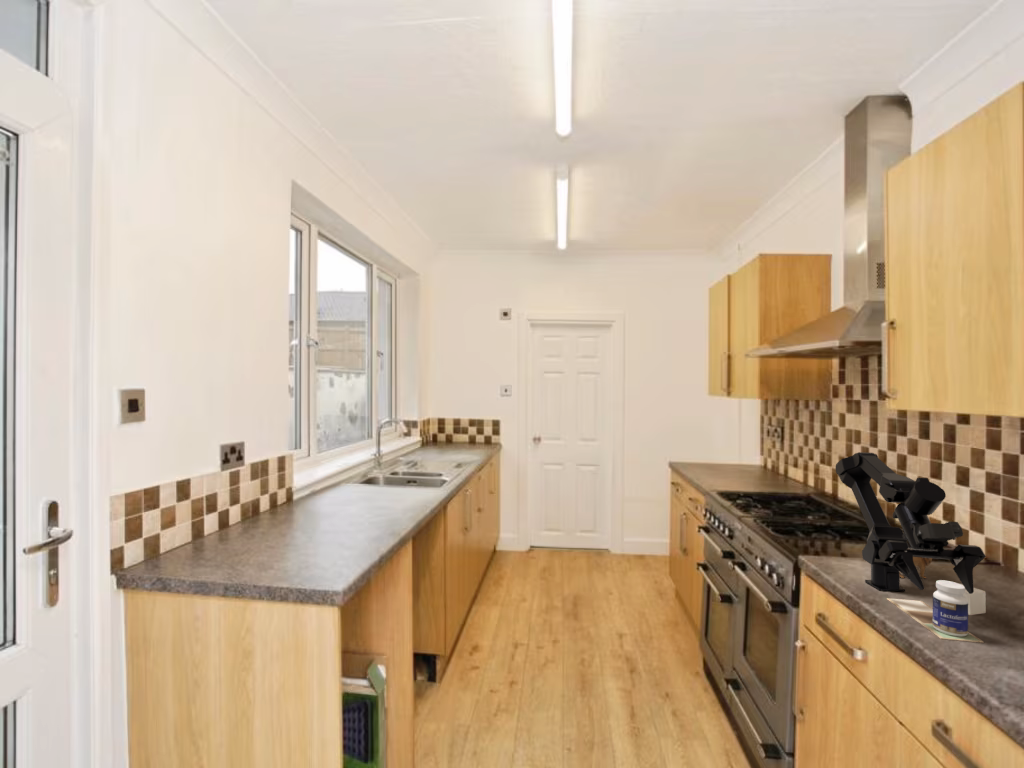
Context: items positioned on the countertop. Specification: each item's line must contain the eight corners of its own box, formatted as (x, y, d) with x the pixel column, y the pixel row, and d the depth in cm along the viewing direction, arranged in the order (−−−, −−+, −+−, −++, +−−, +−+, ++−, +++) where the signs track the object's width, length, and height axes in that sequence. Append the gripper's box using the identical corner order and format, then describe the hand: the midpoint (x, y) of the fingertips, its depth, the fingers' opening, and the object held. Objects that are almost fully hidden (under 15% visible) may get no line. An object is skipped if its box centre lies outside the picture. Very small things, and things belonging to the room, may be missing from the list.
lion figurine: (922, 572, 146) (922, 540, 146) (939, 578, 141) (939, 546, 141) (874, 573, 144) (874, 541, 145) (890, 580, 139) (890, 546, 139)
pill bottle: (940, 635, 106) (940, 587, 106) (927, 623, 112) (927, 577, 112) (974, 639, 104) (974, 590, 105) (959, 627, 110) (959, 580, 110)
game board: (886, 599, 126) (886, 598, 126) (921, 601, 124) (921, 600, 124) (940, 638, 105) (940, 637, 105) (983, 642, 104) (983, 641, 104)
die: (946, 606, 122) (946, 585, 122) (961, 604, 123) (961, 583, 123) (970, 615, 117) (970, 593, 117) (985, 613, 118) (985, 591, 118)
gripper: (885, 504, 116) (913, 570, 105) (979, 509, 113) (1018, 577, 102) (867, 530, 124) (892, 593, 113) (955, 535, 120) (990, 601, 110)
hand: (946, 591), depth 109 cm, fingers open, 9 cm apart
